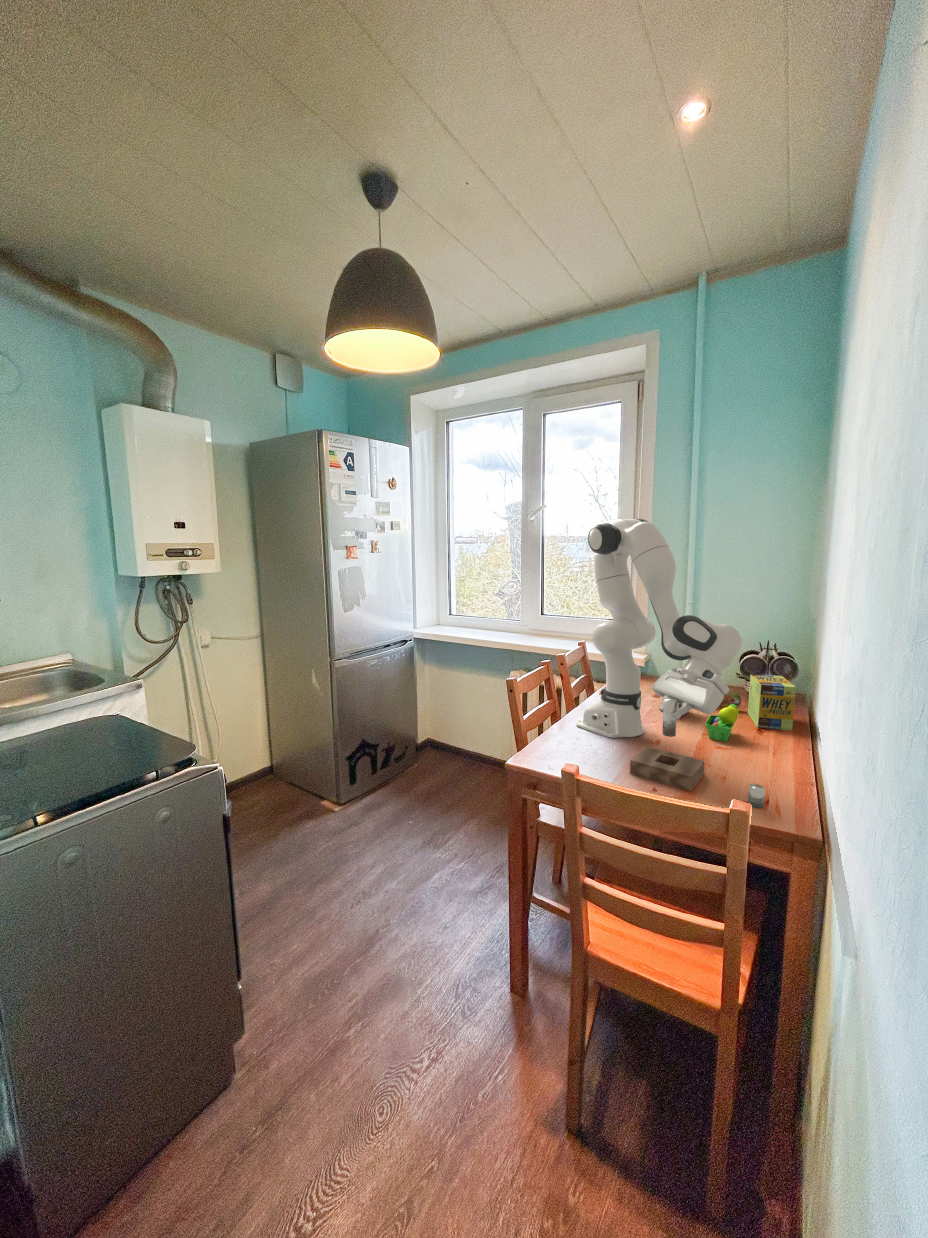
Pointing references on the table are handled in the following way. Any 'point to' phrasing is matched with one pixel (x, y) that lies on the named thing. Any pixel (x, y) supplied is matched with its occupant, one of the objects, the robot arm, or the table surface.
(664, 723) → the long pin
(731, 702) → the tin
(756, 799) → the short pin
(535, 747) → the table surface
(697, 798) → the table surface
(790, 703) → the protein box
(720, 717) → the fruit basket
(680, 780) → the hole block
